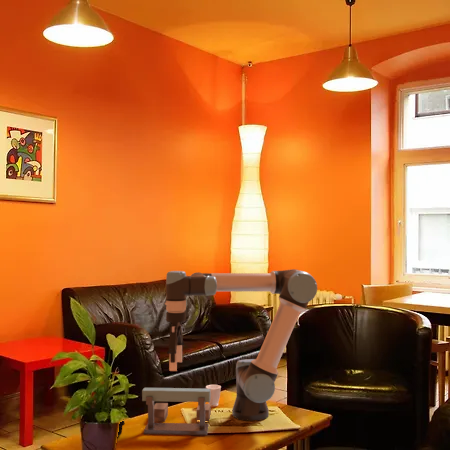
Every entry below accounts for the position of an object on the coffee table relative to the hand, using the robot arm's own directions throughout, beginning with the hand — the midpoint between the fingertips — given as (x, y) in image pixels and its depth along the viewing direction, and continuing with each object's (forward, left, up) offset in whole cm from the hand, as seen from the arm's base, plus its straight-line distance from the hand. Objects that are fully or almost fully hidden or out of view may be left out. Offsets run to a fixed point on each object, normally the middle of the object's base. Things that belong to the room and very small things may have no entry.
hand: (175, 366), depth 224 cm
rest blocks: (0, -14, -25) cm, 29 cm away
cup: (-10, -32, -25) cm, 42 cm away
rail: (0, 0, -13) cm, 13 cm away
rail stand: (0, 0, -25) cm, 25 cm away
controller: (+22, +7, -25) cm, 34 cm away
